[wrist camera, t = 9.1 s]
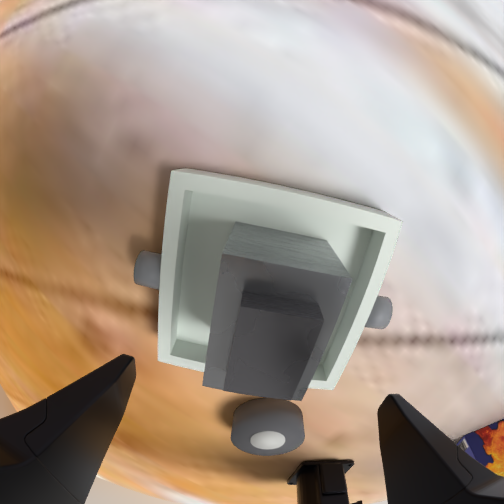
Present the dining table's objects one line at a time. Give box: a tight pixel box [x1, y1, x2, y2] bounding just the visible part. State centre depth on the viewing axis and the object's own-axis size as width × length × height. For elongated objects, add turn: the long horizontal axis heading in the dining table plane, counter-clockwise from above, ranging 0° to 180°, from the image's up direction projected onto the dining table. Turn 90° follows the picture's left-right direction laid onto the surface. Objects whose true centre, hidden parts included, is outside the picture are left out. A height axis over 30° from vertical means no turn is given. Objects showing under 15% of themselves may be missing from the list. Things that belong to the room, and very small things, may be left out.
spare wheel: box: [231, 398, 305, 456], centre depth 20 cm, size 6×6×3 cm
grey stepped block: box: [202, 221, 352, 401], centre depth 13 cm, size 7×5×6 cm
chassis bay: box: [134, 168, 403, 390], centre depth 16 cm, size 12×15×2 cm
